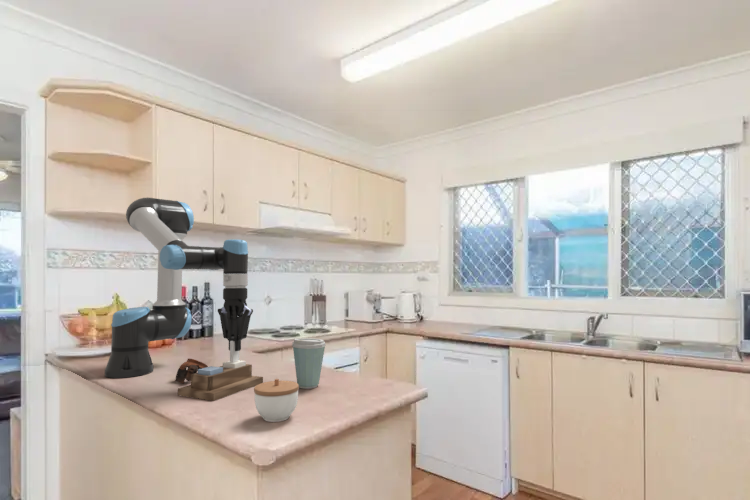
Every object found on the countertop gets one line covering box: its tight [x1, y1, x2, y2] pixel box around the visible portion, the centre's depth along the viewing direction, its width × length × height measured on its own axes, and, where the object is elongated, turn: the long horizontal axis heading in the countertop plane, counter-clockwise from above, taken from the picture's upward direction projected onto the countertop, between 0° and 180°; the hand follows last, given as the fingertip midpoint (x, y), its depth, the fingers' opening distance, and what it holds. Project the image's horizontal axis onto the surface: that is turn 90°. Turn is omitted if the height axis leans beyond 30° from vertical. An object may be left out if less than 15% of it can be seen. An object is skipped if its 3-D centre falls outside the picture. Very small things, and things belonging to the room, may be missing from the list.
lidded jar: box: [253, 378, 299, 423], centre depth 104 cm, size 11×11×9 cm
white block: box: [222, 359, 247, 369], centre depth 135 cm, size 5×5×4 cm
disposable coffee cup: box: [291, 337, 327, 390], centre depth 133 cm, size 11×11×15 cm
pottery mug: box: [174, 358, 209, 385], centre depth 141 cm, size 12×10×8 cm
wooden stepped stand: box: [177, 363, 264, 402], centre depth 130 cm, size 14×21×6 cm, turn 156°
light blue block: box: [197, 365, 223, 376], centre depth 126 cm, size 5×5×4 cm
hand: (234, 360), depth 135 cm, fingers closed
